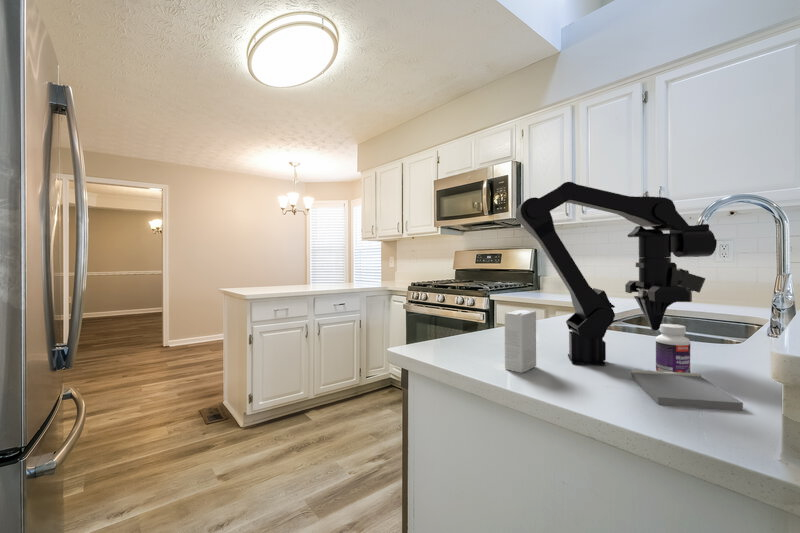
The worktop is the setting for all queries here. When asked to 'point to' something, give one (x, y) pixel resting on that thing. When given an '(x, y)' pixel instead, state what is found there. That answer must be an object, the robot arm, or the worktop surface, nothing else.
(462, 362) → the worktop surface
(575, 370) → the worktop surface
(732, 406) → the mat
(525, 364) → the skincare box
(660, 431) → the worktop surface
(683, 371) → the pill bottle
